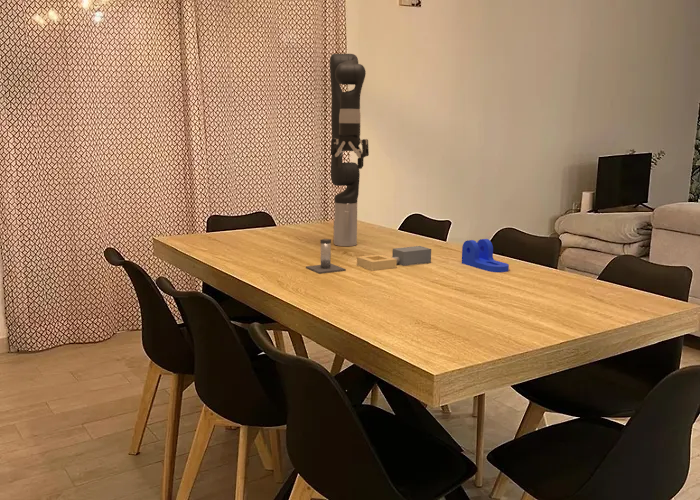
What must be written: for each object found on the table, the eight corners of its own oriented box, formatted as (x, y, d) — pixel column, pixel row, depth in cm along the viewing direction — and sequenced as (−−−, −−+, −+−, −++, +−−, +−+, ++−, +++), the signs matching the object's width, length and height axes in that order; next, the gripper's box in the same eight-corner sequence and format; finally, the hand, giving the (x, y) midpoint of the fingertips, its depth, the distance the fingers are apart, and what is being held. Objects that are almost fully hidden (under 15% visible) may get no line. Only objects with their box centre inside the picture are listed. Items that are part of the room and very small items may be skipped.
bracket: (461, 263, 252) (462, 239, 250) (479, 261, 256) (480, 237, 254) (494, 273, 237) (496, 247, 235) (513, 271, 241) (515, 245, 239)
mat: (305, 268, 241) (305, 266, 241) (331, 265, 246) (331, 263, 246) (319, 273, 232) (319, 272, 232) (345, 270, 237) (345, 269, 237)
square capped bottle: (323, 266, 241) (324, 238, 239) (332, 267, 240) (332, 239, 238) (318, 268, 238) (318, 239, 237) (327, 269, 237) (327, 240, 235)
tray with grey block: (371, 270, 238) (372, 256, 237) (356, 265, 246) (356, 251, 246) (433, 263, 251) (433, 249, 250) (416, 258, 260) (417, 245, 259)
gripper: (372, 122, 248) (371, 168, 251) (337, 121, 255) (337, 166, 258) (362, 122, 242) (361, 169, 245) (327, 121, 248) (326, 167, 251)
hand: (349, 168), depth 251 cm, fingers open, 8 cm apart
